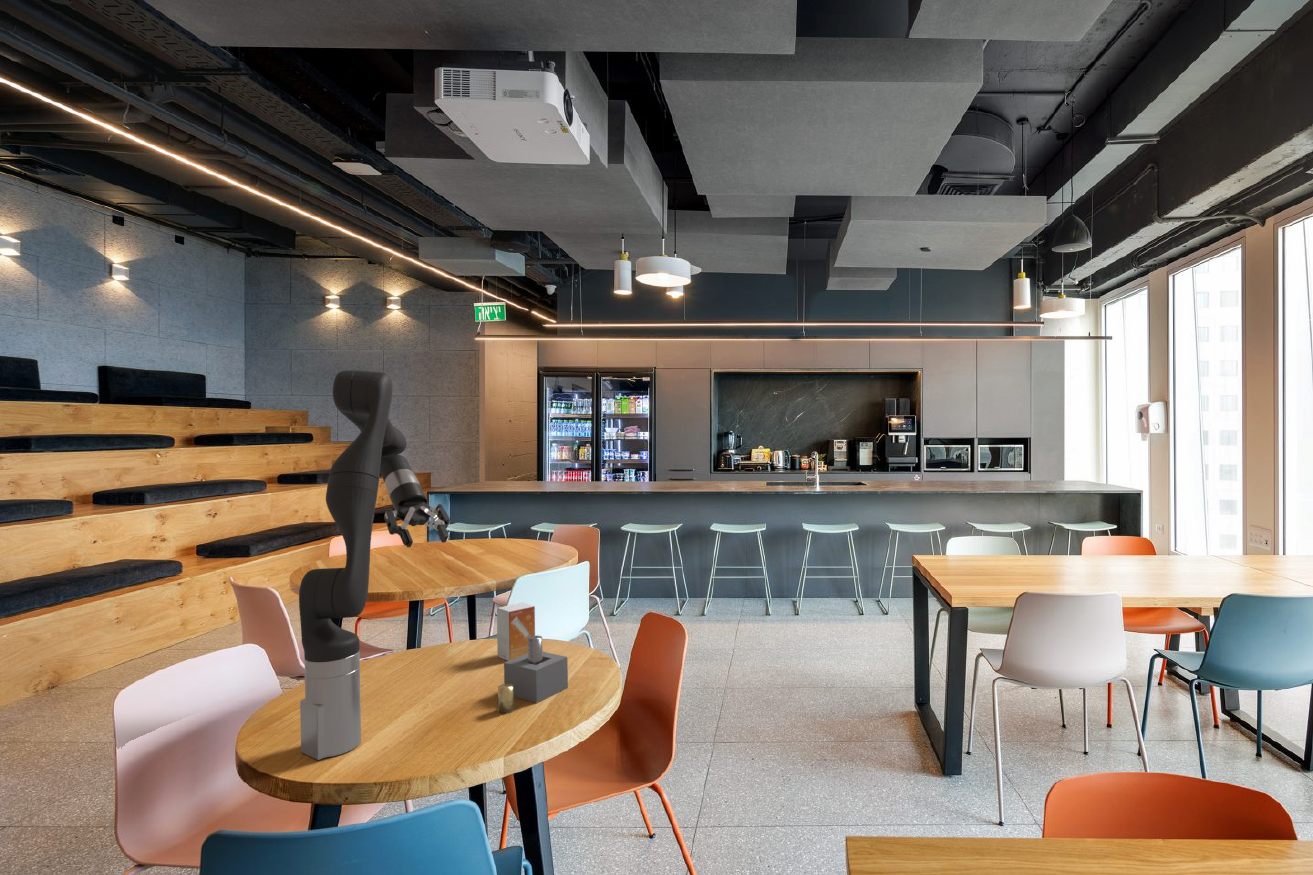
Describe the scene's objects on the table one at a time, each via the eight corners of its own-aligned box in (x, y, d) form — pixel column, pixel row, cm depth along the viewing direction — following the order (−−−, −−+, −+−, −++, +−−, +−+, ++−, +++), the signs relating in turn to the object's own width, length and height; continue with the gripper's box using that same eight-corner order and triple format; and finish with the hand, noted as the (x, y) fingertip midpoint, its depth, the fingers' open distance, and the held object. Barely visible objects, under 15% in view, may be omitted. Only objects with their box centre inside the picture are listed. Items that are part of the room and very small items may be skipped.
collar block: (536, 702, 135) (536, 670, 136) (504, 693, 141) (503, 662, 141) (568, 687, 144) (567, 656, 144) (536, 679, 149) (535, 649, 149)
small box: (509, 662, 162) (508, 611, 162) (497, 656, 167) (496, 607, 167) (536, 654, 168) (535, 605, 168) (523, 649, 172) (522, 601, 172)
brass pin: (505, 714, 130) (505, 690, 130) (495, 711, 132) (494, 687, 132) (517, 709, 133) (516, 685, 133) (506, 706, 134) (506, 682, 134)
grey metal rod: (536, 694, 140) (535, 640, 140) (525, 691, 142) (524, 638, 142) (546, 689, 143) (545, 636, 143) (535, 687, 145) (534, 634, 145)
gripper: (380, 482, 147) (403, 535, 139) (437, 479, 157) (461, 528, 149) (371, 504, 151) (393, 557, 143) (428, 499, 161) (451, 548, 153)
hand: (428, 542), depth 146 cm, fingers open, 8 cm apart
